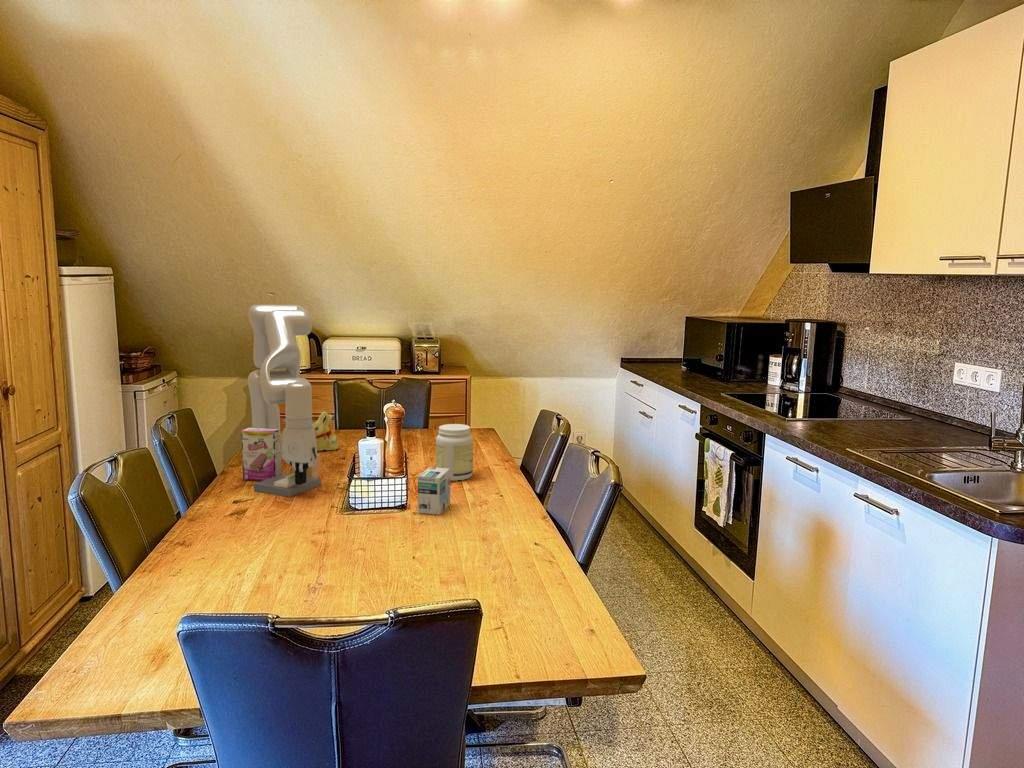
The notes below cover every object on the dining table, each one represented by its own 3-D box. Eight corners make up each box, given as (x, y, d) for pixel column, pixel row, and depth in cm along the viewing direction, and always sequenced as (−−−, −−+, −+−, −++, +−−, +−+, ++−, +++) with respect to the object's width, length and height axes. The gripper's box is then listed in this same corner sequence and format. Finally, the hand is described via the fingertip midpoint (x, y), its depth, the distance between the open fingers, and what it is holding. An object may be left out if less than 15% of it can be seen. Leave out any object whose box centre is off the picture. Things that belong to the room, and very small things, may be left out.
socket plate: (285, 479, 221) (285, 472, 220) (321, 484, 215) (320, 478, 215) (253, 491, 208) (253, 484, 208) (290, 497, 203) (290, 490, 202)
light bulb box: (440, 515, 189) (440, 477, 188) (416, 513, 191) (416, 476, 189) (451, 503, 200) (451, 467, 198) (429, 501, 201) (429, 466, 199)
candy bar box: (242, 480, 218) (240, 430, 216) (249, 476, 223) (247, 427, 221) (276, 482, 217) (274, 431, 215) (282, 478, 222) (281, 428, 220)
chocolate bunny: (308, 449, 260) (307, 410, 257) (338, 447, 264) (337, 409, 262) (310, 454, 253) (309, 414, 251) (340, 451, 258) (340, 412, 255)
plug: (310, 475, 226) (309, 448, 225) (321, 476, 224) (320, 449, 223) (300, 478, 222) (300, 451, 220) (312, 480, 220) (311, 452, 219)
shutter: (287, 480, 211) (287, 470, 211) (300, 482, 209) (300, 472, 209) (274, 485, 206) (273, 475, 205) (287, 488, 204) (286, 477, 203)
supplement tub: (475, 472, 233) (475, 423, 230) (469, 482, 221) (470, 431, 218) (439, 471, 234) (440, 422, 231) (432, 481, 222) (432, 430, 219)
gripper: (270, 423, 202) (272, 483, 205) (311, 428, 197) (312, 490, 199) (287, 419, 209) (289, 477, 212) (327, 423, 203) (329, 483, 206)
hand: (300, 483), depth 206 cm, fingers closed
